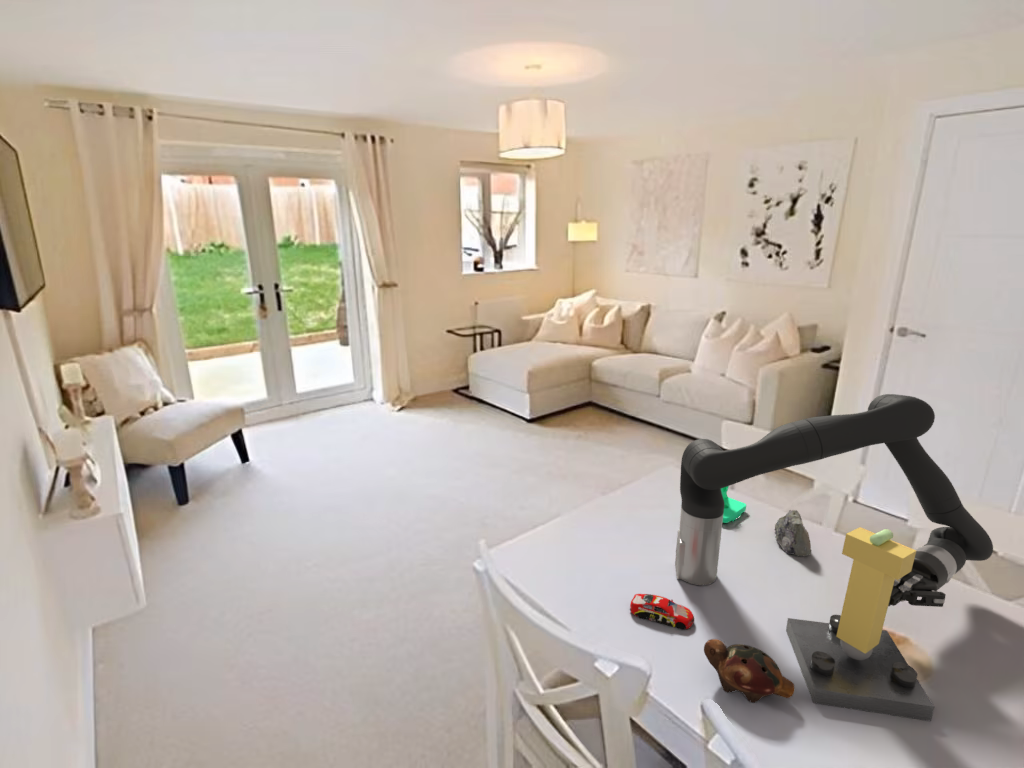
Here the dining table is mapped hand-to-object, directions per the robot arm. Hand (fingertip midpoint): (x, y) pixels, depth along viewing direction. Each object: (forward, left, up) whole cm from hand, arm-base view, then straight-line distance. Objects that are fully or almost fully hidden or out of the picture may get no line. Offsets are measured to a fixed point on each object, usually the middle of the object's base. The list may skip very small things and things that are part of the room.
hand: (885, 600), depth 102 cm
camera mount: (-20, +50, -12) cm, 55 cm away
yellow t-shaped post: (-6, -6, -9) cm, 12 cm away
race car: (-40, +3, -13) cm, 42 cm away
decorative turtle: (-26, -14, -12) cm, 32 cm away
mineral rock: (-5, +38, -12) cm, 40 cm away
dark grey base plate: (-6, -6, -12) cm, 15 cm away
